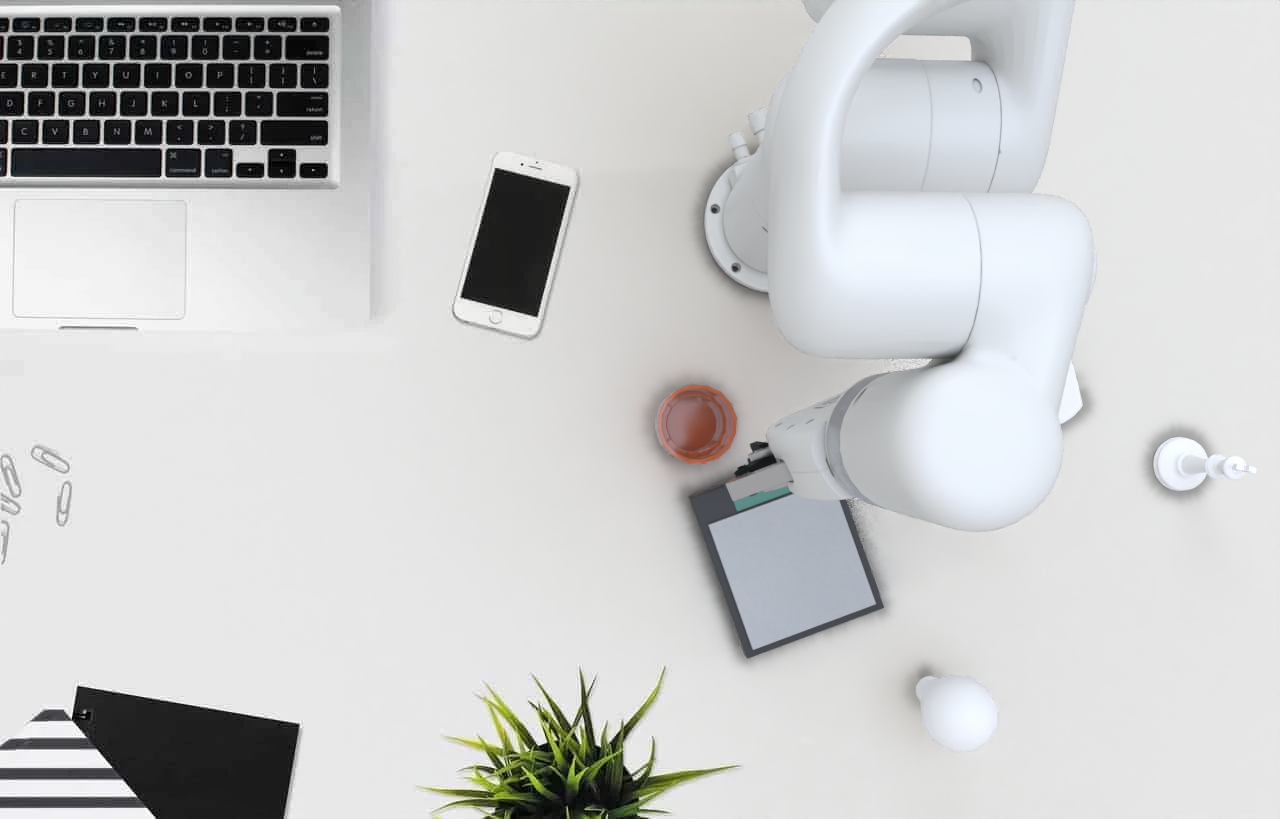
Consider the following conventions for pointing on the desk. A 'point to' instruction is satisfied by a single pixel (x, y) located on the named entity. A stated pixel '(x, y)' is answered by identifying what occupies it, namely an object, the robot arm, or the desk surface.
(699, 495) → the scale
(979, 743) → the lightbulb
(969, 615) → the desk surface
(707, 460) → the bowl
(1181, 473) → the chess piece
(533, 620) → the desk surface
